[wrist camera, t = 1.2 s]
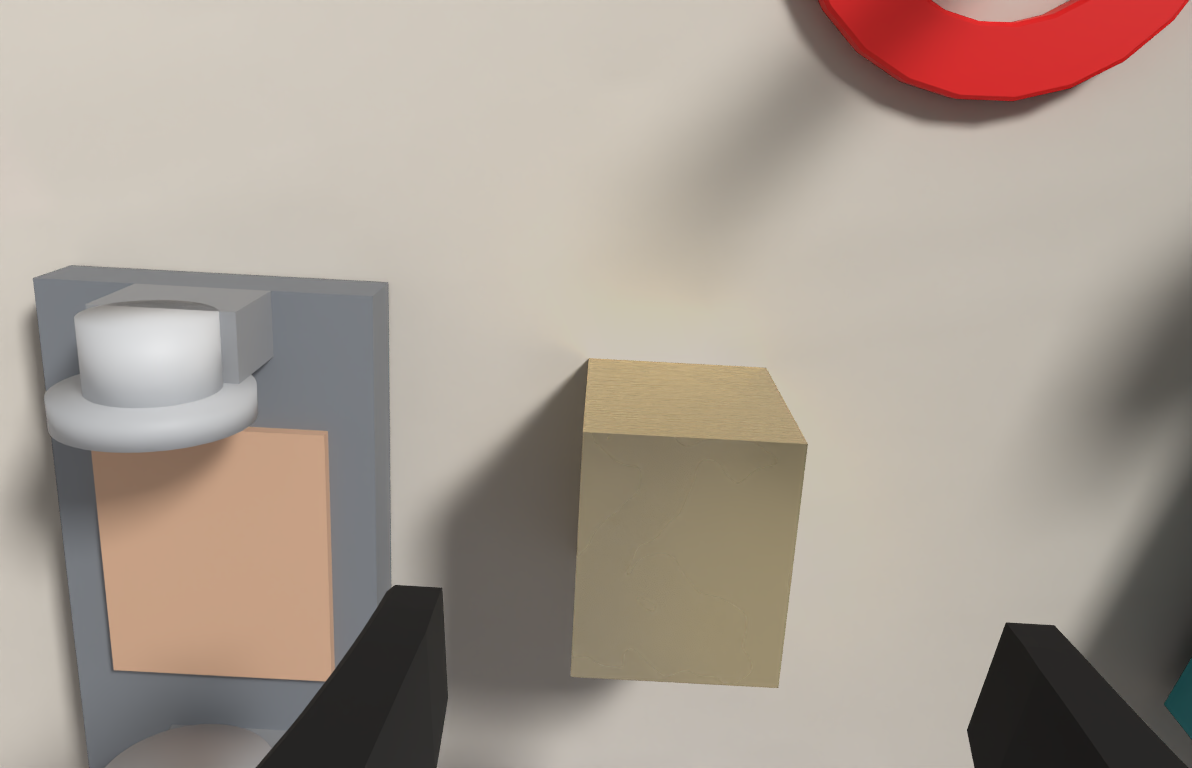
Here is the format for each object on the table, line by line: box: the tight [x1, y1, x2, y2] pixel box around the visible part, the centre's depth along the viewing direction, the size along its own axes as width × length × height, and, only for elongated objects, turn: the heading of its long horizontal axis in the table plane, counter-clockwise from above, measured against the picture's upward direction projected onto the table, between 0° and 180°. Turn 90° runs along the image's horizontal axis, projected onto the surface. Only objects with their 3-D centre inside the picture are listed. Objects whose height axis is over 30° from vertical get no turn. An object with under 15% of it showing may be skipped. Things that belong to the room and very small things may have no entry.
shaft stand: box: [33, 265, 391, 768], centre depth 21 cm, size 12×7×6 cm, turn 177°
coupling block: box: [570, 358, 808, 688], centre depth 21 cm, size 5×4×5 cm
